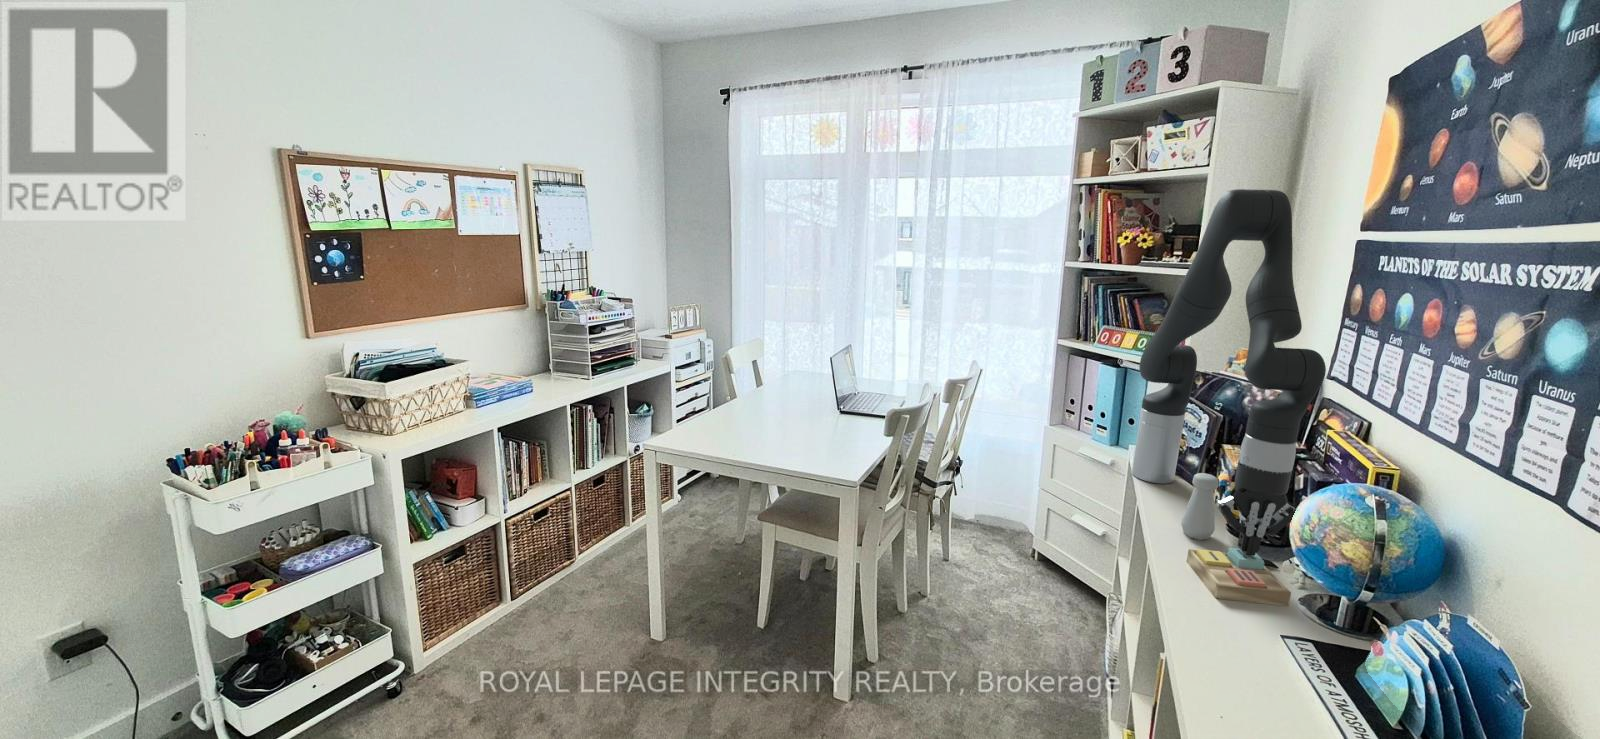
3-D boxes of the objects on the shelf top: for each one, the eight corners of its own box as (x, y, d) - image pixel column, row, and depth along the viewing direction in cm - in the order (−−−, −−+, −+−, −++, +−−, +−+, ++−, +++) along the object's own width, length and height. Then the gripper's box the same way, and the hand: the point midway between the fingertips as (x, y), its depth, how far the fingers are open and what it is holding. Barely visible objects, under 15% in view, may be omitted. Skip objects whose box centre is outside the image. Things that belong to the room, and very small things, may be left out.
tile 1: (1194, 560, 116) (1196, 548, 115) (1218, 563, 115) (1220, 550, 114) (1204, 572, 112) (1206, 560, 111) (1228, 575, 111) (1231, 562, 110)
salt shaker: (1219, 540, 124) (1231, 480, 121) (1197, 544, 123) (1208, 483, 120) (1194, 526, 130) (1205, 468, 127) (1172, 530, 128) (1182, 471, 125)
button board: (1186, 561, 117) (1188, 549, 116) (1251, 567, 115) (1254, 555, 114) (1215, 598, 105) (1218, 585, 105) (1288, 605, 104) (1291, 592, 103)
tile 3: (1225, 580, 109) (1227, 567, 109) (1250, 583, 109) (1253, 570, 108) (1236, 593, 106) (1239, 580, 105) (1262, 596, 105) (1265, 583, 104)
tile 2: (1226, 559, 114) (1228, 547, 114) (1250, 561, 114) (1252, 549, 113) (1236, 571, 111) (1239, 558, 110) (1261, 573, 110) (1264, 561, 109)
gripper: (1295, 457, 110) (1276, 546, 114) (1213, 451, 112) (1197, 539, 116) (1322, 473, 103) (1301, 568, 107) (1233, 467, 105) (1216, 560, 109)
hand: (1247, 552), depth 111 cm, fingers closed
